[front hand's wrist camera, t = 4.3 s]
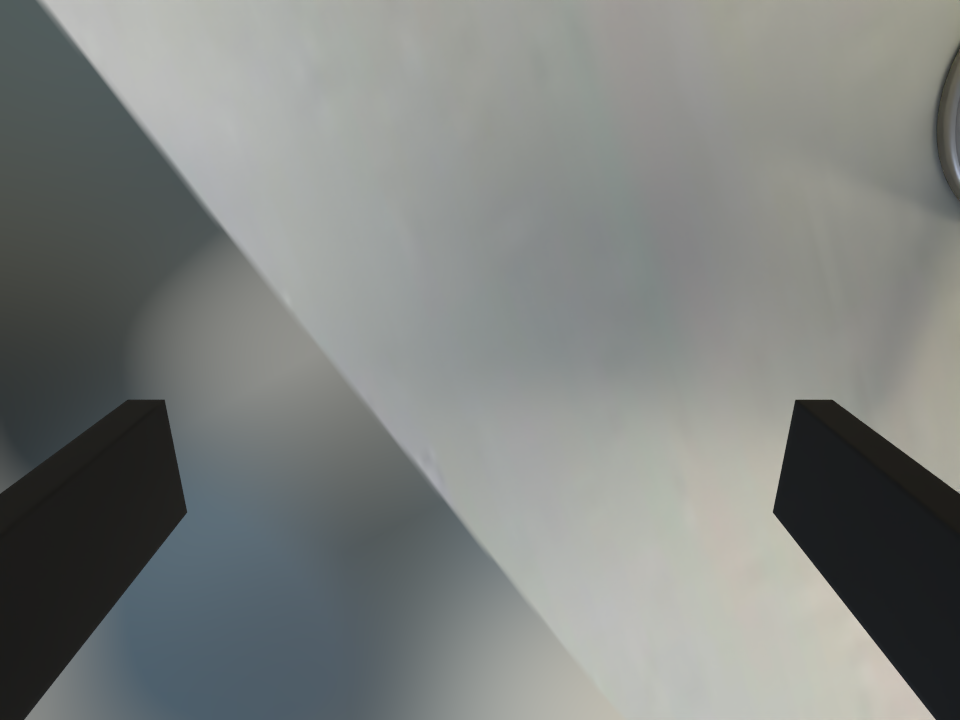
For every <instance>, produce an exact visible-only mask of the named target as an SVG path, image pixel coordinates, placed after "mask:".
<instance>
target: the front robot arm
mask: <svg viewBox="0 0 960 720" xmlns="http://www.w3.org/2000/svg"><path fill="white" fill-rule="evenodd" d="M937 144H938V151H939V158H940V162H941V166H942V169H943V172H944V175H945V177H946V180H947V182H948V184H949V186H950V187H951V189H952V191H953V192H954V194H955V195H956V197H957V198H958V200H959V201H960V49H959V51H958V53H957V55H956V57H955V59H954V62H953V64H952V66H951V69H950V71H949V73H948V76H947V79H946V82H945V85H944V88H943V92H942V97H941V101H940V106H939V113H938V122H937ZM186 513H187V509H186V504H185V500H184V495H183V489H182V485H181V479H180V475H179V470H178V464H177V460H176V454H175V450H174V444H173V439H172V435H171V429H170V425H169V420H168V415H167V410H166V405H165V400H127V401H125V402H124V403H123V404H121V405H120V406H119V407H117V408H116V409H115V410H113V411H112V412H111V413H109V414H108V415H106V416H105V417H104V418H102V419H101V420H100V421H98V422H97V423H96V424H94V425H93V426H92V427H90V428H89V429H87V430H86V431H85V432H83V433H82V434H81V435H79V436H78V437H77V438H75V439H74V440H73V441H71V442H70V443H69V444H67V445H66V446H65V447H63V448H62V449H60V450H59V451H58V452H56V453H55V454H54V455H52V456H51V457H50V458H48V459H47V460H45V461H44V462H43V463H41V464H40V465H39V466H37V467H36V468H35V469H33V470H32V471H31V472H29V473H28V474H27V475H25V476H24V477H22V478H21V479H20V480H18V481H17V482H16V483H14V484H13V485H12V486H10V487H9V488H8V489H6V490H5V491H3V492H2V493H1V494H0V720H24V719H25V718H26V717H27V715H28V714H29V713H30V712H31V710H32V709H33V708H34V707H35V705H36V704H37V703H38V701H39V700H40V699H41V698H42V696H43V695H44V694H45V692H46V691H47V690H48V689H49V687H50V686H51V685H52V684H53V682H54V681H55V680H56V678H57V677H58V676H59V675H60V673H61V672H62V671H63V670H64V668H65V667H66V666H67V665H68V663H69V662H70V661H71V659H72V658H73V657H74V656H75V654H76V653H77V652H78V651H79V649H80V648H81V647H82V645H83V644H84V643H85V642H86V640H87V639H88V638H89V637H90V635H91V634H92V633H93V631H94V630H95V629H96V628H97V626H98V625H99V624H100V623H101V621H102V620H103V619H104V617H105V616H106V615H107V614H108V612H109V611H110V610H111V609H112V607H113V606H114V605H115V603H116V602H117V601H118V600H119V598H120V597H121V596H122V595H123V593H124V592H125V591H126V589H127V588H128V587H129V586H130V584H131V583H132V582H133V580H134V579H135V578H136V577H137V575H138V574H139V573H140V572H141V570H142V569H143V568H144V567H145V565H146V564H147V563H148V561H149V560H150V559H151V558H152V556H153V555H154V554H155V553H156V551H157V550H158V549H159V547H160V546H161V545H162V544H163V542H164V541H165V540H166V539H167V537H168V536H169V535H170V533H171V532H172V531H173V530H174V528H175V527H176V526H177V525H178V523H179V522H180V521H181V519H182V518H183V517H184V516H185V514H186ZM773 513H774V514H775V516H776V517H777V518H778V519H779V521H780V522H781V523H782V525H783V526H784V527H785V528H786V530H787V531H788V532H789V533H790V535H791V536H792V537H793V539H794V540H795V541H796V542H797V544H798V545H799V546H800V547H801V549H802V550H803V551H804V553H805V554H806V555H807V556H808V558H809V559H810V560H811V561H812V563H813V564H814V565H815V567H816V568H817V569H818V570H819V572H820V573H821V574H822V575H823V577H824V578H825V579H826V581H827V582H828V583H829V584H830V586H831V587H832V588H833V589H834V591H835V592H836V593H837V595H838V596H839V597H840V598H841V600H842V601H843V602H844V603H845V605H846V606H847V607H848V609H849V610H850V611H851V612H852V614H853V615H854V616H855V617H856V619H857V620H858V621H859V623H860V624H861V625H862V626H863V628H864V629H865V630H866V631H867V633H868V634H869V635H870V637H871V638H872V639H873V640H874V642H875V643H876V644H877V645H878V647H879V648H880V649H881V651H882V652H883V653H884V654H885V656H886V657H887V658H888V659H889V661H890V662H891V663H892V665H893V666H894V667H895V668H896V670H897V671H898V672H899V673H900V675H901V676H902V677H903V679H904V680H905V681H906V682H907V684H908V685H909V686H910V687H911V689H912V690H913V691H914V693H915V694H916V695H917V696H918V698H919V699H920V700H921V701H922V703H923V704H924V705H925V707H926V708H927V709H928V710H929V712H930V713H931V714H932V715H933V717H934V718H935V719H936V720H960V494H959V493H958V492H957V491H955V490H954V489H952V488H951V487H950V486H948V485H947V484H946V483H944V482H943V481H942V480H940V479H939V478H938V477H936V476H935V475H933V474H932V473H931V472H929V471H928V470H927V469H925V468H924V467H923V466H921V465H920V464H919V463H917V462H916V461H915V460H913V459H912V458H910V457H909V456H908V455H906V454H905V453H904V452H902V451H901V450H900V449H898V448H897V447H896V446H894V445H893V444H891V443H890V442H889V441H887V440H886V439H885V438H883V437H882V436H881V435H879V434H878V433H877V432H875V431H874V430H873V429H871V428H870V427H868V426H867V425H866V424H864V423H863V422H862V421H860V420H859V419H858V418H856V417H855V416H854V415H852V414H851V413H849V412H848V411H847V410H845V409H844V408H843V407H841V406H840V405H839V404H837V403H836V402H835V401H833V400H795V405H794V410H793V415H792V419H791V424H790V429H789V434H788V439H787V444H786V449H785V454H784V459H783V464H782V469H781V474H780V479H779V484H778V489H777V494H776V499H775V504H774V509H773Z"/></svg>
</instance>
